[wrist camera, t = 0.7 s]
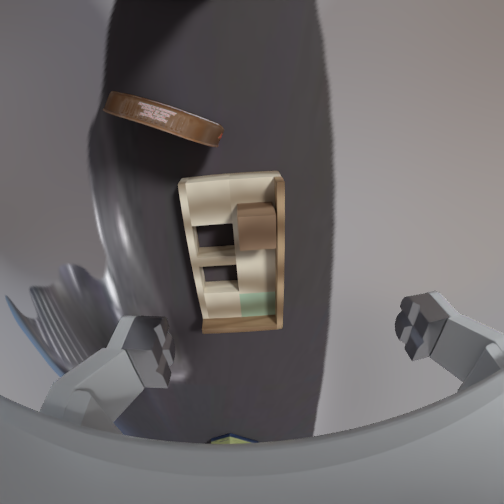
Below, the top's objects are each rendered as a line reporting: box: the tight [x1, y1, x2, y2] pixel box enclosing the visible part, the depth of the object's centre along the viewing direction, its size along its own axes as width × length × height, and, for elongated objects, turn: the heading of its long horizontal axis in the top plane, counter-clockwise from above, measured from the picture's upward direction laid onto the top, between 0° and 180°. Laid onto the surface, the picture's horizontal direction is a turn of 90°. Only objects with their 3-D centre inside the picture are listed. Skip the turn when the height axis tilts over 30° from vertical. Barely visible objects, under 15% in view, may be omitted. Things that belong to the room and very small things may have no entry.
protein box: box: [211, 433, 259, 444], centre depth 77 cm, size 10×16×16 cm
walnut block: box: [237, 202, 276, 251], centre depth 34 cm, size 4×4×4 cm
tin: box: [103, 91, 224, 147], centre depth 27 cm, size 15×3×8 cm, turn 65°
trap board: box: [178, 171, 285, 334], centre depth 39 cm, size 24×13×6 cm, turn 3°
